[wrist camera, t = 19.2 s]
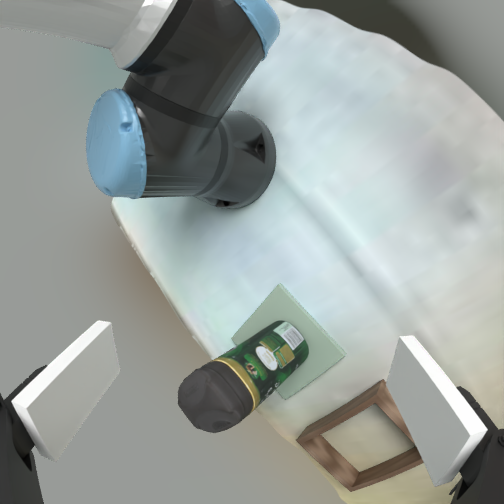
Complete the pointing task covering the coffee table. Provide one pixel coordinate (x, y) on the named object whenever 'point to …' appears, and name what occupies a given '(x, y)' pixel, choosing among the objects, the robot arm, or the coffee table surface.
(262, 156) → the robot arm
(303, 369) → the sage mat
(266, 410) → the coffee table surface
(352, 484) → the walnut caddy
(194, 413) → the coffee jar
